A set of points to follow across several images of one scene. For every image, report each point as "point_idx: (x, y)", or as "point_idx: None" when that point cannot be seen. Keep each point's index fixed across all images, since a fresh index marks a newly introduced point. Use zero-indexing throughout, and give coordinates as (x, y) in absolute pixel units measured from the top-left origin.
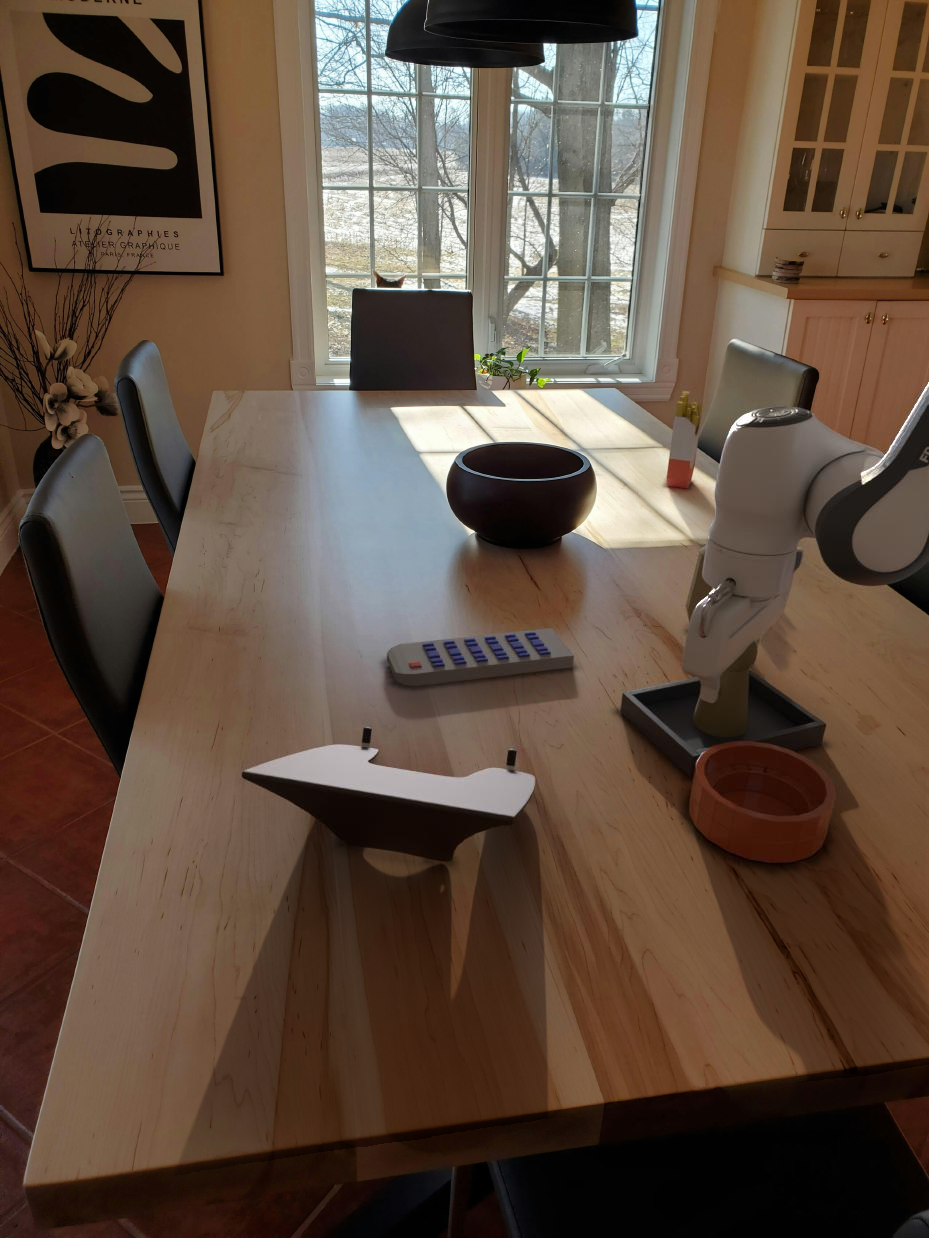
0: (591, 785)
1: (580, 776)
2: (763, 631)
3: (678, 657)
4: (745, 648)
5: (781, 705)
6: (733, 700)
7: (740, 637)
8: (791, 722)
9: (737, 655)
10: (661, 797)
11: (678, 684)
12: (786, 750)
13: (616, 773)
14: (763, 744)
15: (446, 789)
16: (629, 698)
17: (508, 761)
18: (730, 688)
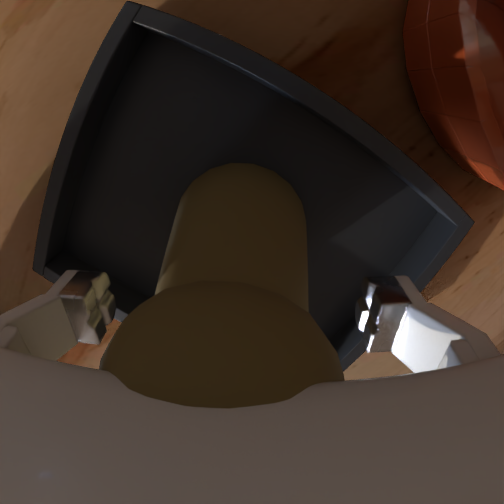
0: (496, 305)
1: (482, 323)
2: (10, 371)
3: (77, 357)
4: (323, 410)
5: (87, 139)
6: (292, 234)
7: (488, 502)
8: (118, 95)
9: (453, 394)
10: (501, 222)
11: None
12: (466, 24)
13: (469, 297)
14: (478, 84)
15: None
16: None
17: None
18: (299, 271)
